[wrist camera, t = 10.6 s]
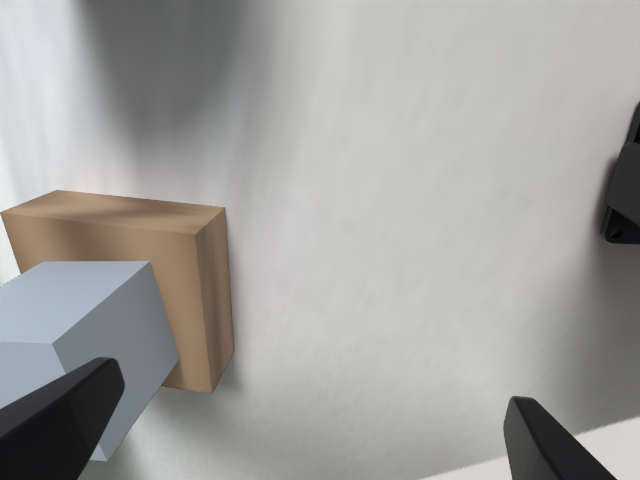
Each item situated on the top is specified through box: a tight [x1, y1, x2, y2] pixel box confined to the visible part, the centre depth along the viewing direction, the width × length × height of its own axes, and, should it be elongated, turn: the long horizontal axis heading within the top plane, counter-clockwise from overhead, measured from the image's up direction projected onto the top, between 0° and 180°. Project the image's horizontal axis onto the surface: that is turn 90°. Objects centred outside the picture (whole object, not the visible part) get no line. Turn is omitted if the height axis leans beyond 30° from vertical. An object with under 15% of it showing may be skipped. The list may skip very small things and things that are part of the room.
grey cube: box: [0, 261, 180, 462], centre depth 17 cm, size 6×6×6 cm
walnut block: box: [0, 190, 234, 394], centre depth 22 cm, size 10×10×4 cm
